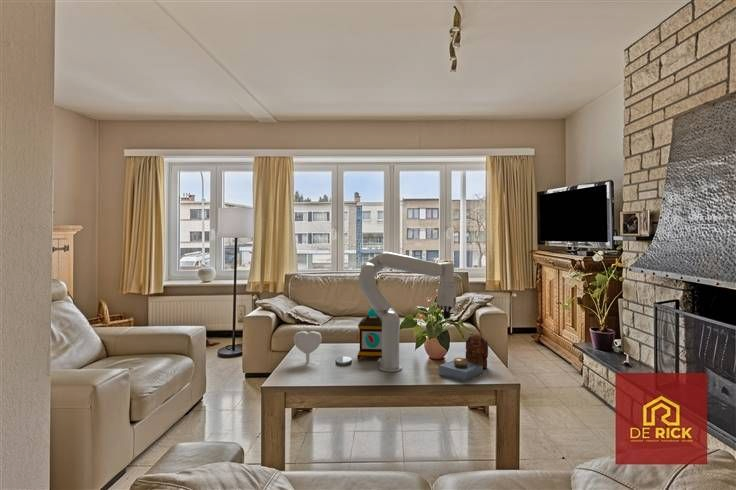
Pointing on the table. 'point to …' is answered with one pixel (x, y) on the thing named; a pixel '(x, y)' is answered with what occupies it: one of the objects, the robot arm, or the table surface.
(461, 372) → the block
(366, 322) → the decorative lantern
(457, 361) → the bushing
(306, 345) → the heart sculpture
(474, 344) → the wooden figurine
